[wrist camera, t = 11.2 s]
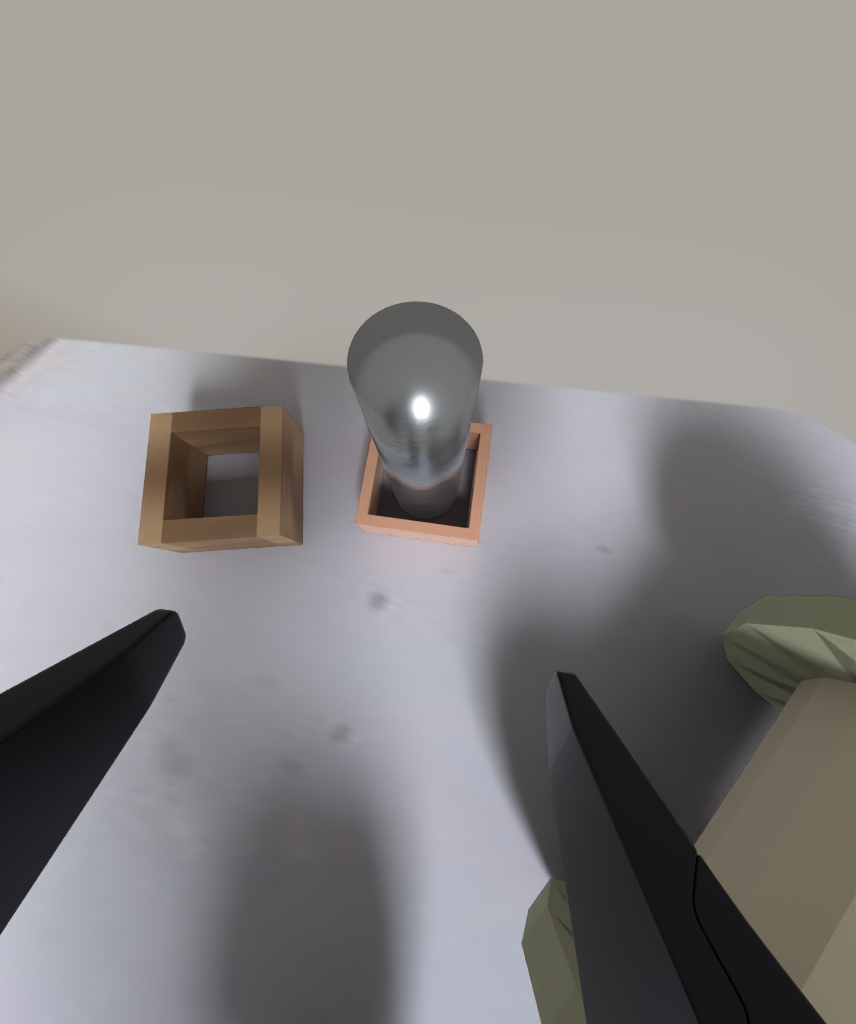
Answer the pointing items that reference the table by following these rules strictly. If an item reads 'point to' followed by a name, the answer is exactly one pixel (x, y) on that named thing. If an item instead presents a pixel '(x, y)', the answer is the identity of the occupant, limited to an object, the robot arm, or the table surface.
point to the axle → (418, 398)
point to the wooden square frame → (182, 478)
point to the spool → (767, 815)
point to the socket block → (423, 530)
